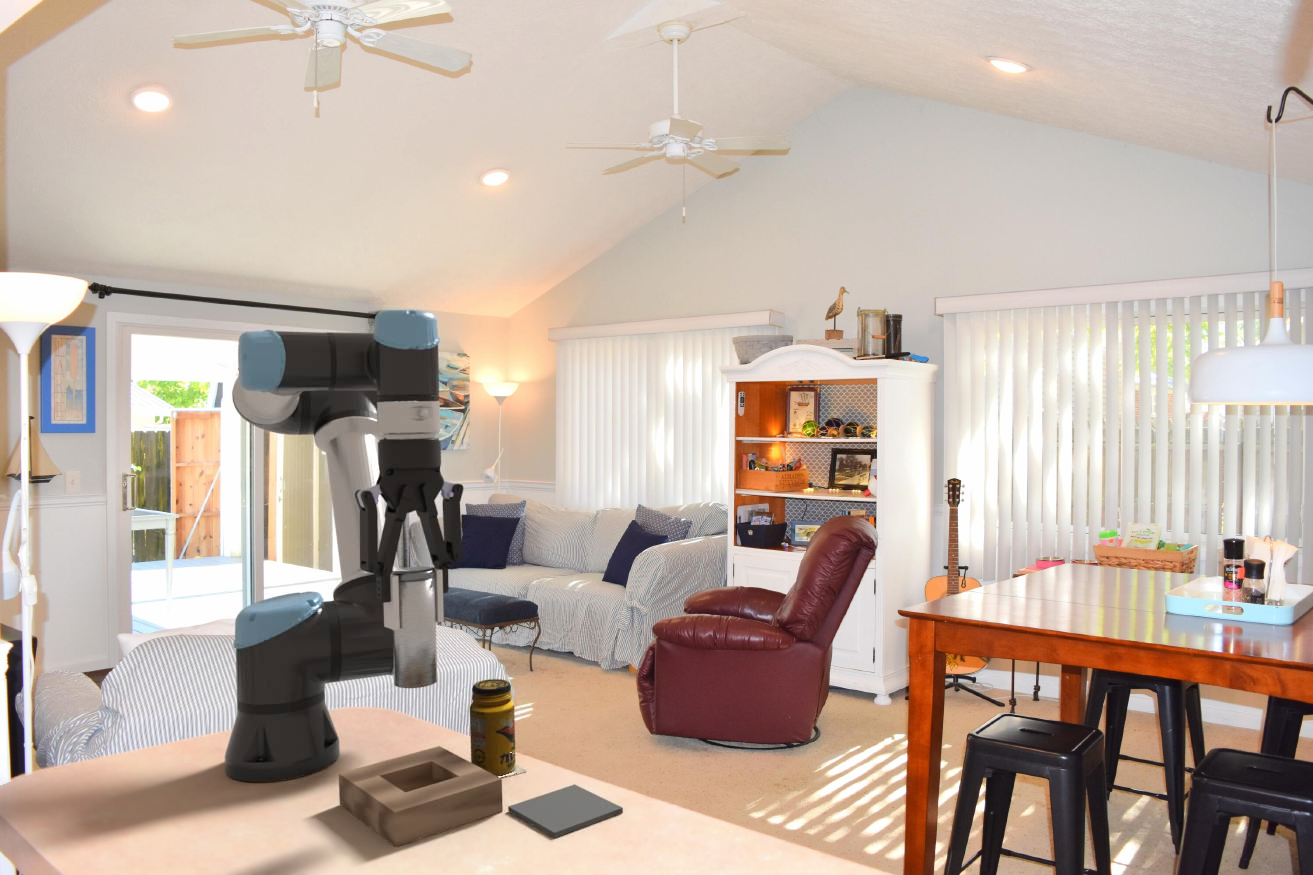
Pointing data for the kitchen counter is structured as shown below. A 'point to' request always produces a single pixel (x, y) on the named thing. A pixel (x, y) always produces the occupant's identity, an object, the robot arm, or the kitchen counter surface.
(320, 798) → the kitchen counter surface
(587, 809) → the mat
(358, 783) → the housing
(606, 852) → the kitchen counter surface
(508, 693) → the condiment
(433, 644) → the plug
